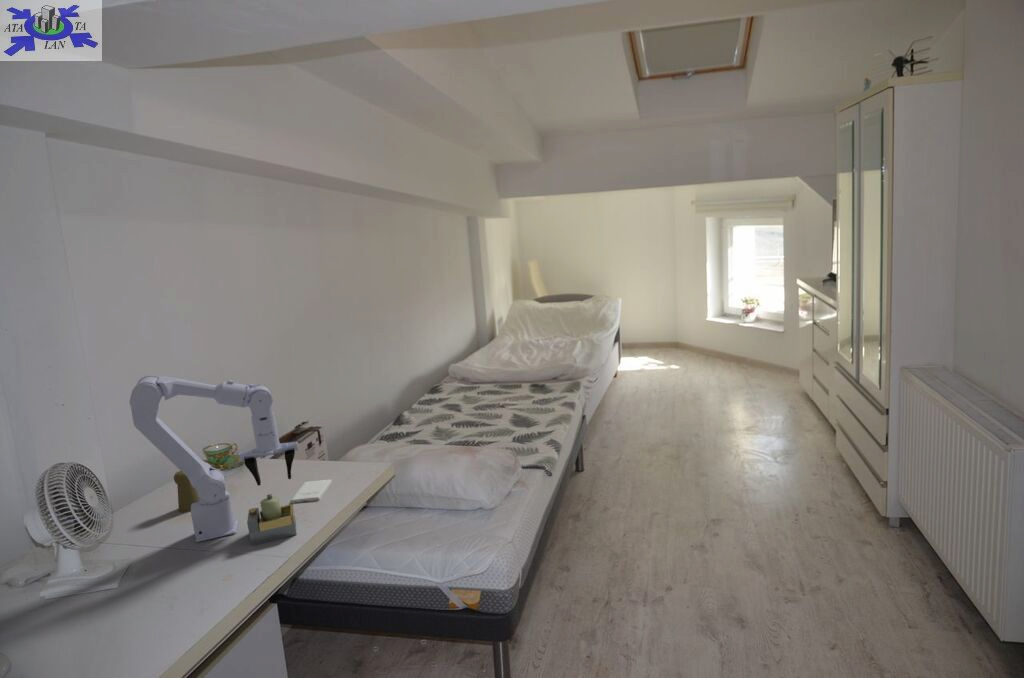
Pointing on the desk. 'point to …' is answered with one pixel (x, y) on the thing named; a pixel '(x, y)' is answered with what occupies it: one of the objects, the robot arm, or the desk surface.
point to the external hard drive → (311, 491)
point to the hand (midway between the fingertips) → (274, 480)
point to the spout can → (270, 508)
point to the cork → (185, 492)
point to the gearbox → (271, 525)
